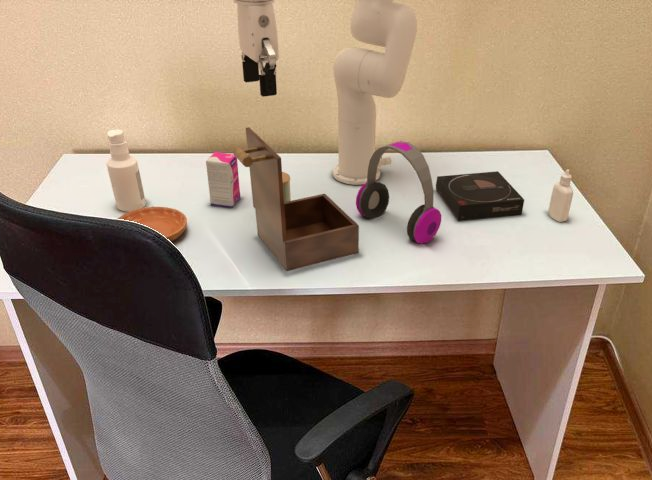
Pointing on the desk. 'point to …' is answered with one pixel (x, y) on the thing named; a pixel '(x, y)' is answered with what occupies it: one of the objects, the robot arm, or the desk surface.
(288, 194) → the canister
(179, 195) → the desk surface
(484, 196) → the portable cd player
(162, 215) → the saucer
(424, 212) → the headphones
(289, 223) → the chest
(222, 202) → the supplement box
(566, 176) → the eye dropper bottle
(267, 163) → the lid
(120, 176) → the spray bottle
